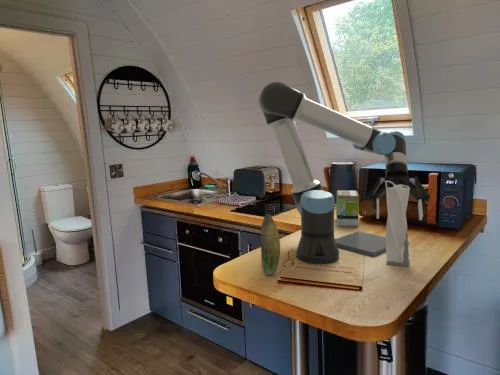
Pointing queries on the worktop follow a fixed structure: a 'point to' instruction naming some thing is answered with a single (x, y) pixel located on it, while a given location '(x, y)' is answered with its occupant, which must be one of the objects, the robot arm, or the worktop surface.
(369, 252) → the charcoal board
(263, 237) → the vegetable
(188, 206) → the worktop surface
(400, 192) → the skyscraper
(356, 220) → the tea box
